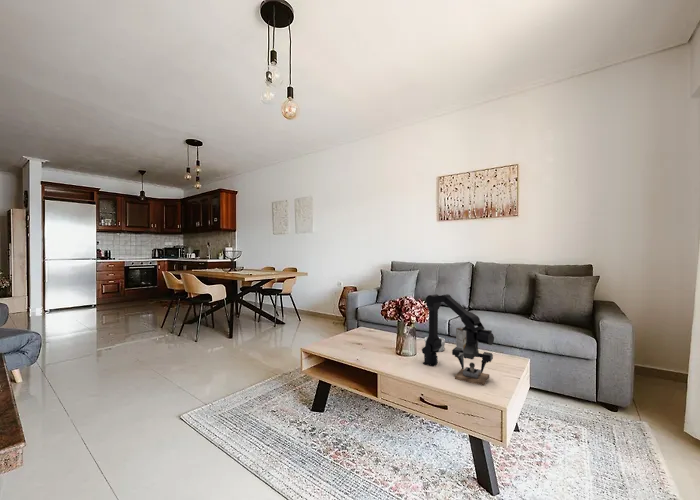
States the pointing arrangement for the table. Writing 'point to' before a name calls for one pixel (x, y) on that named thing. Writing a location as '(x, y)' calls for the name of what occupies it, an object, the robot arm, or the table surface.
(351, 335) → the table surface
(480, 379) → the square knob plate
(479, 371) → the metal link
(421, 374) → the table surface
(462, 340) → the coffee box
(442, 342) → the ramekin
